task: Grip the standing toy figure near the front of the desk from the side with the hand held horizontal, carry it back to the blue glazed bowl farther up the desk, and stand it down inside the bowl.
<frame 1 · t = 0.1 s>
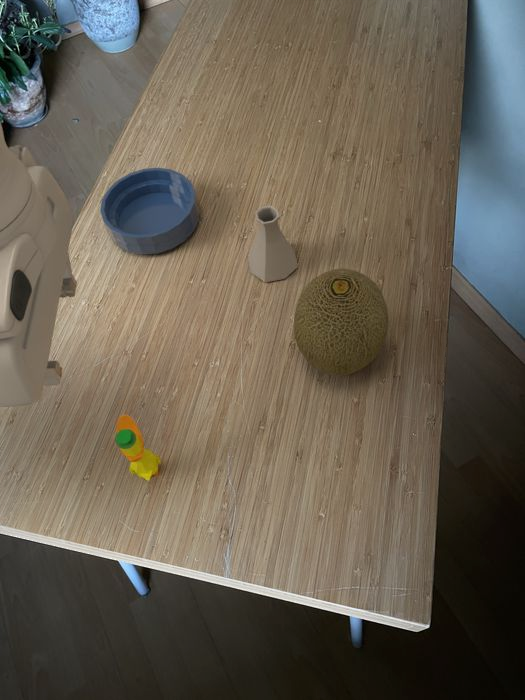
hand: (61, 332, 54), 23 cm above the table, tool pointing down, fingers open, 8 cm apart
fruit: (339, 354, 77), on the table
flask: (272, 263, 86), on the table
bowl: (155, 222, 92), on the table
toy figure: (150, 468, 71), on the table
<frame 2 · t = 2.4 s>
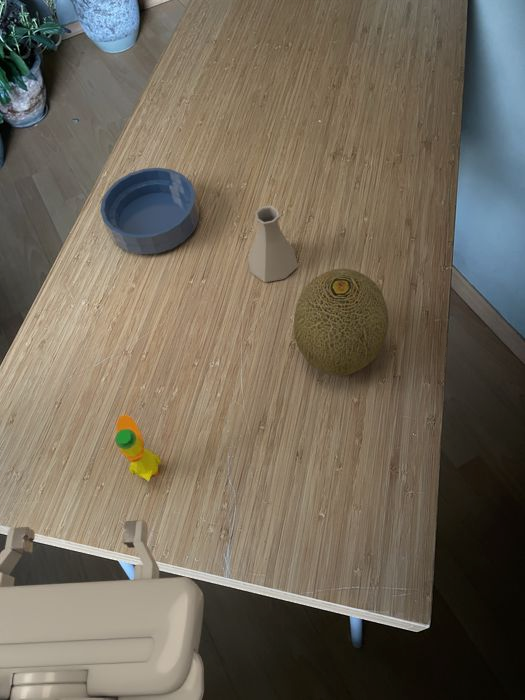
hand: (79, 525, 48), 20 cm above the table, tool horizontal, fingers open, 8 cm apart
nothing on the table moved.
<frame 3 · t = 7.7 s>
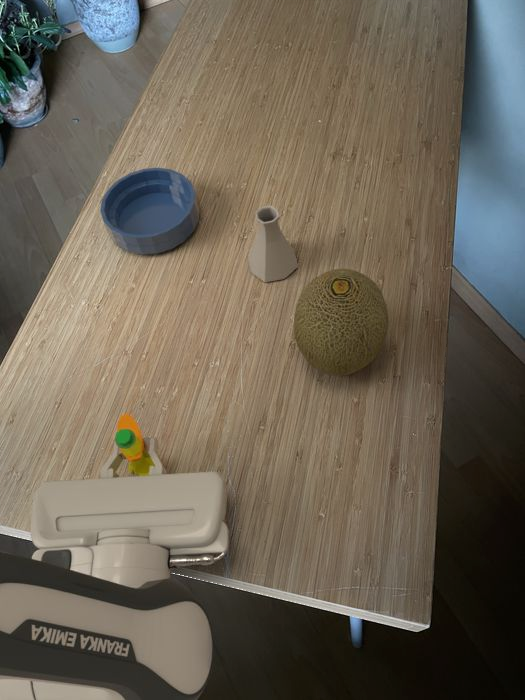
hand: (136, 440, 66), 7 cm above the table, tool horizontal, fingers closed on toy figure, 2 cm apart
toy figure: (150, 468, 71), on the table, touching gripper
everything else where it was.
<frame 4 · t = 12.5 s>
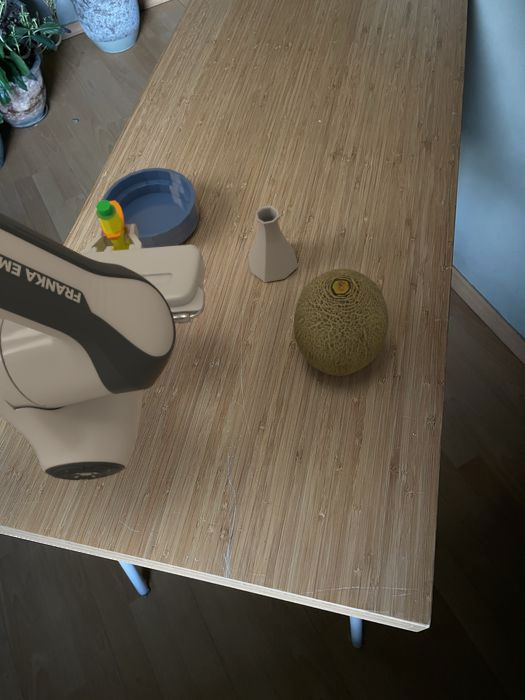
hand: (118, 228, 69), 17 cm above the table, tool horizontal, fingers closed on toy figure
toy figure: (133, 270, 74), point 10 cm above the table, touching gripper
everything else where it was.
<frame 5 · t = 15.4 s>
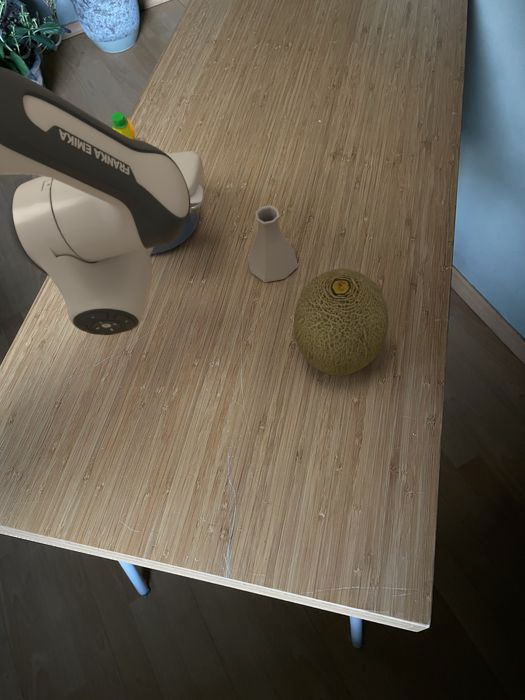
hand: (129, 142, 80), 15 cm above the table, tool horizontal, fingers closed on toy figure
toy figure: (141, 184, 85), point 8 cm above the table, touching gripper
everything else where it was.
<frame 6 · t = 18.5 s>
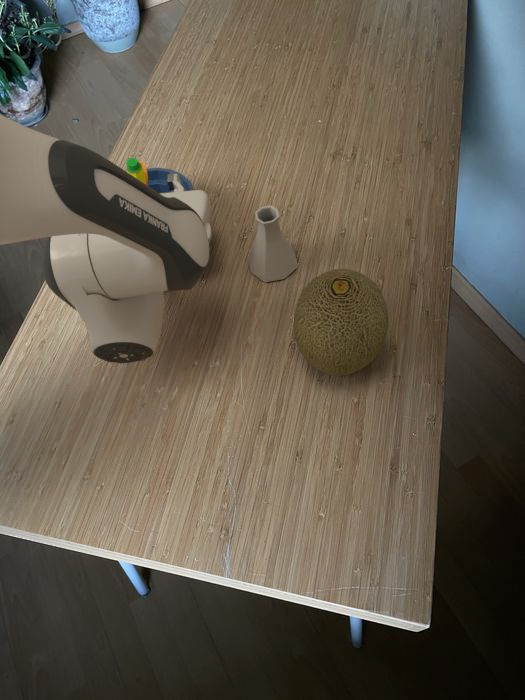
hand: (141, 180, 86), 8 cm above the table, tool horizontal, fingers open, 8 cm apart
toy figure: (153, 219, 91), point 1 cm above the table, touching bowl
everything else where it was.
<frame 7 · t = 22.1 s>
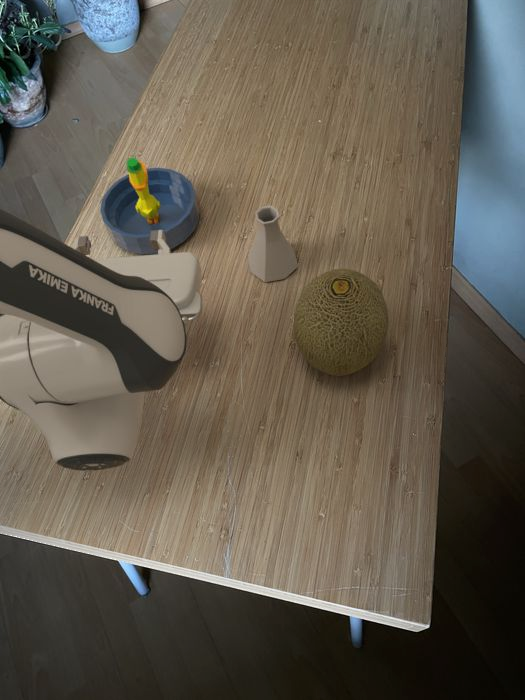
hand: (120, 236, 73), 13 cm above the table, tool horizontal, fingers open, 8 cm apart
nothing on the table moved.
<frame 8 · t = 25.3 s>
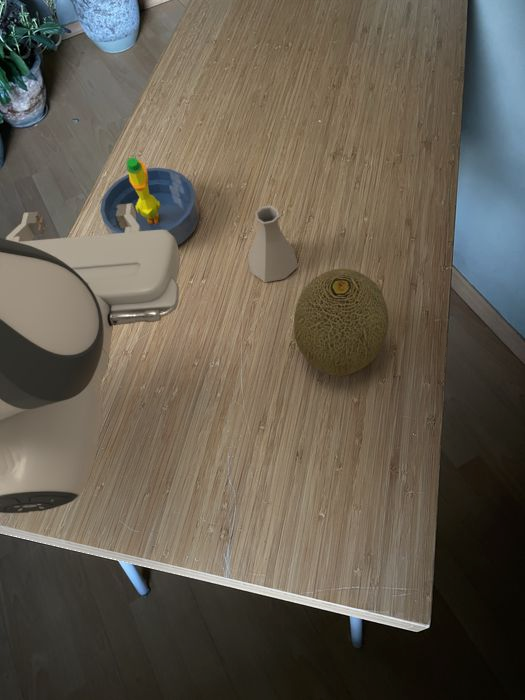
hand: (80, 212, 59), 25 cm above the table, tool horizontal, fingers open, 8 cm apart
nothing on the table moved.
at the end: toy figure inside the target area in the bowl (0.0 cm from its centre), point 0.6 cm above the bowl's base; the gripper is holding nothing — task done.
